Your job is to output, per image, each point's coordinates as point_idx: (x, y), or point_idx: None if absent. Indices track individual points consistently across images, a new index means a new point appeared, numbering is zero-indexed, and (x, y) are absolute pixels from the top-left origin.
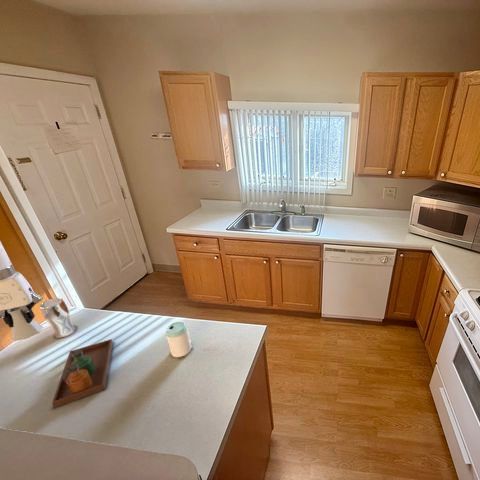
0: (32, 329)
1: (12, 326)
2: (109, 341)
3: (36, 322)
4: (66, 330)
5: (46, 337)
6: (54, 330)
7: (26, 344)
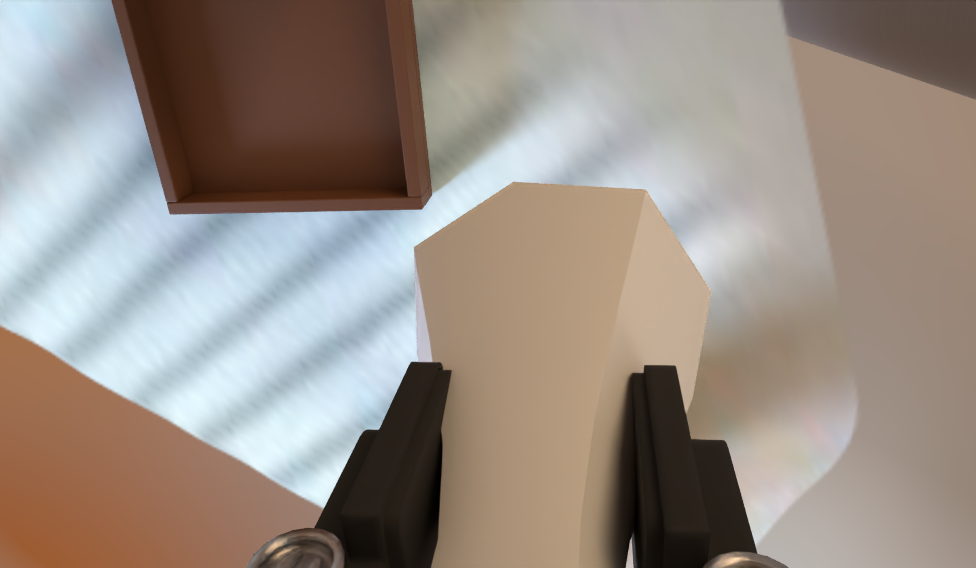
0: (444, 282)
1: (642, 373)
2: (172, 190)
3: None
4: None
5: None
6: None
7: (757, 459)
